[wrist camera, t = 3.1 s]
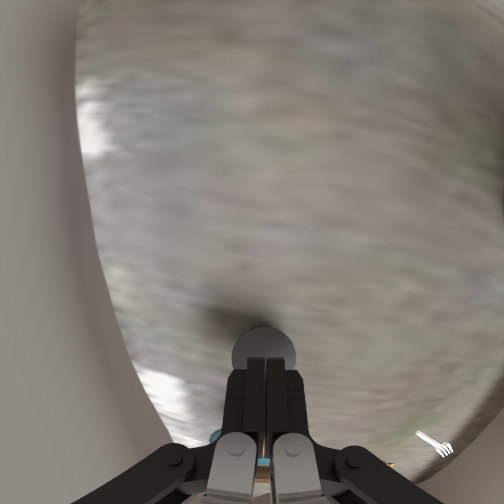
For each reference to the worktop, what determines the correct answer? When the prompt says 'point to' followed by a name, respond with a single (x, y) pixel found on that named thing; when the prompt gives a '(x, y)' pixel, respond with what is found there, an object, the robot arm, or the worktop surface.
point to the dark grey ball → (263, 347)
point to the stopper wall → (262, 475)
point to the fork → (434, 443)
